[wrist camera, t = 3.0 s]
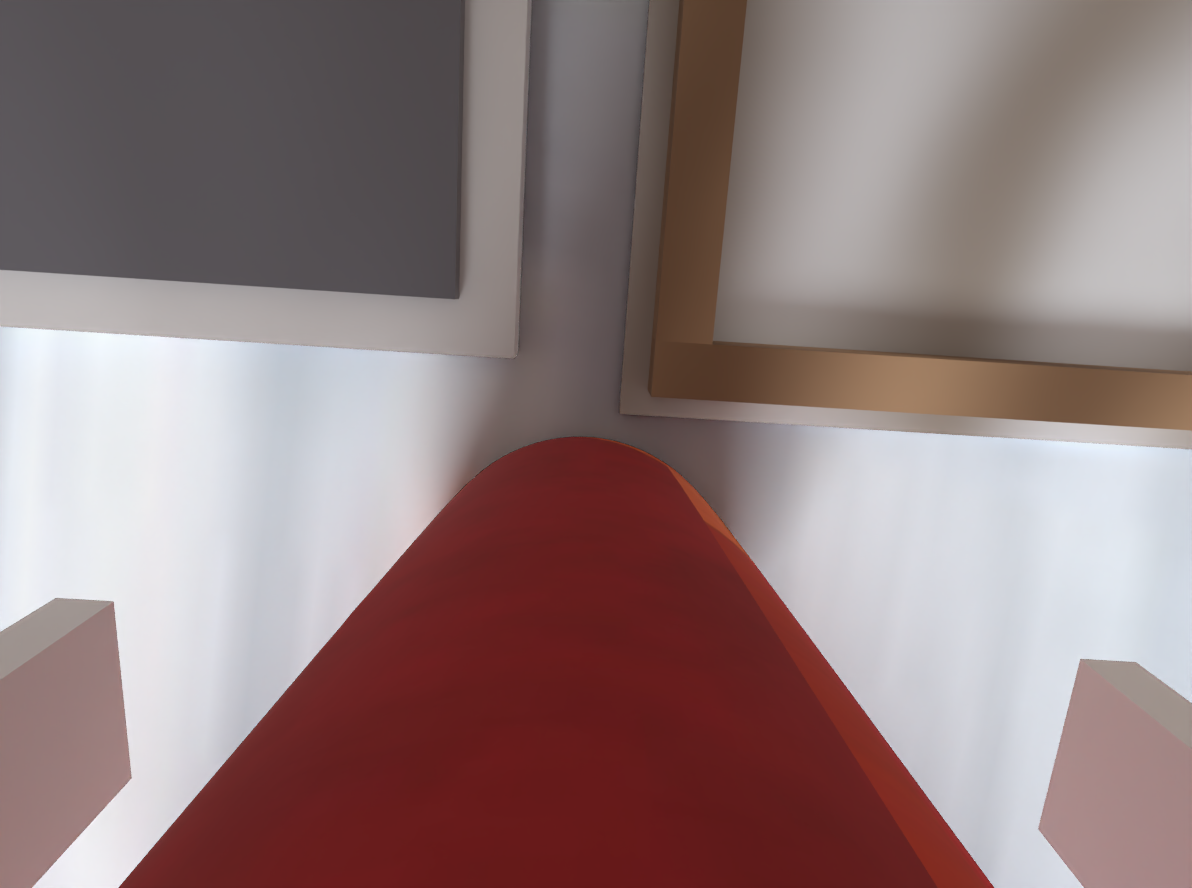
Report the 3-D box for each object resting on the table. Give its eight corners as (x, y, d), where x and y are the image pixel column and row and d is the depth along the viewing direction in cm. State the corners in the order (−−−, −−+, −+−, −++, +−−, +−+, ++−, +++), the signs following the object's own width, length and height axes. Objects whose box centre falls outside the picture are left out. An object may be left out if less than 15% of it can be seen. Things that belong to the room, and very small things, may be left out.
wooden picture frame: (619, 412, 14) (620, 422, 13) (693, -595, 11) (702, -683, 10) (1372, 458, 14) (1428, 472, 13) (1681, -502, 11) (1787, -578, 10)
